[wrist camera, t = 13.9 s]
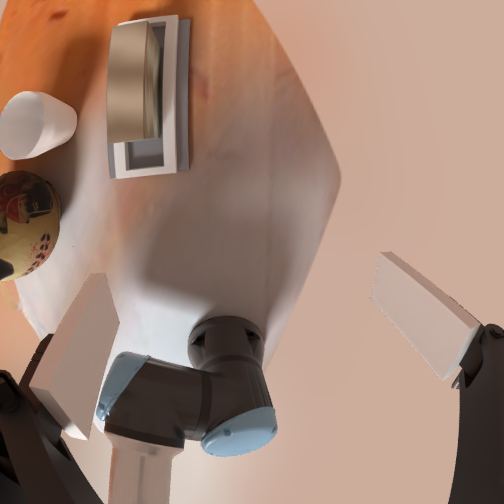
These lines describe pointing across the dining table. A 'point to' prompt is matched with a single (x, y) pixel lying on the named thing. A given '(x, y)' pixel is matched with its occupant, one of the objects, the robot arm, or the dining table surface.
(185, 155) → the track base
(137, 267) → the dining table surface
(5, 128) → the cup
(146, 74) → the beige textured block
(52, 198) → the ceramic jug
